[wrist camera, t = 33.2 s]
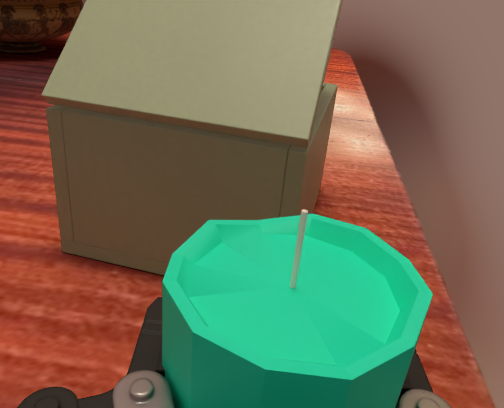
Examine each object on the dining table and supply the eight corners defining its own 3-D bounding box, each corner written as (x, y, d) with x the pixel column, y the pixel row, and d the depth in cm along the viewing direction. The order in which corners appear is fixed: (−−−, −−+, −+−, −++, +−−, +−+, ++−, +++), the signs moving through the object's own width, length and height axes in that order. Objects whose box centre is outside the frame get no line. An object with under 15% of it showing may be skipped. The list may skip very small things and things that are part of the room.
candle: (351, 475, 18) (436, 182, 12) (336, 686, 12) (474, 339, 7) (199, 430, 19) (215, 144, 13) (126, 607, 13) (104, 254, 8)
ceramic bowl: (8, 30, 94) (0, -25, 90) (122, 44, 92) (120, -12, 87) (-123, 54, 68) (-143, -23, 63) (34, 75, 65) (24, -4, 61)
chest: (167, 161, 42) (168, 60, 38) (319, 190, 40) (337, 84, 36) (61, 252, 29) (45, 108, 25) (284, 303, 26) (307, 153, 22)
